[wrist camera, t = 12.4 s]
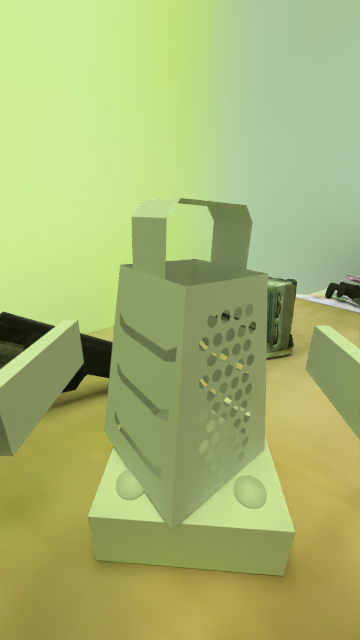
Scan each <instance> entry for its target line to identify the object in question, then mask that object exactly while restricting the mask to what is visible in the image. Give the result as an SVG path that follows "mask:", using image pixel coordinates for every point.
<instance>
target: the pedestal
mask: <svg viewBox="0 0 360 640" xmlns="http://www.w3.org/2000/svg"><path fill="white" fill-rule="evenodd" d="M224 401H225V402H226V403H228V404H229V405H230V404H231V402H232V400H230V399H229V398H227V397H226V398H225V400H224ZM233 408H235V409H236V410H238V408H237V406H234V407H233ZM244 409H245V408H242V407H240V410H241V411H243V410H244ZM150 410H151V411H152V412H153V414H154V415H155V416H156V417H157V418H159V419H161V420H164V421H166V422H168V416H169V409H158V408H157V407H154V408H152V409H150ZM211 411H212V413H213V414H216V412H215V411H213V410H211ZM208 413H209V411H208V409H207V408H205V409H203V410H202V411H201V412H200V414H199V420H200V421H204V420H205V419H206V418H207V416H208ZM245 415H247V416H250V412H247V413H246V414H245ZM224 422H225V419H224V418H222V417H221V416H220V417H219V420H218V423H219V424H220V425H221V424H223V423H224ZM214 427H215V420H211V421H210V422H209V423H208V424H207V427H206V430H207V432H211V431H212V430H213V429H214ZM233 427H234V426H233ZM234 429H237V428H235V427H234ZM230 430H231V426H230V425H227V426H226V427H225V429H224V430H223V436H227V435H228V434H229V433H230ZM120 431H121V433H122V434H123V435H124V437H125V438H126V439H127V441H128V442H129V443H130V445H131V446H132V447H133V449H134V450H135V451H136V453H137V454H138V455H139V457H140V458H141V459H142V461H143V462H144V463H145V465H146V466H147V467H148V469H149V470H150V471H151V473H152V474H154V475H155V476H157V477H158V478H159V479H161V472H162V468H160V467H156V466H153V465H152V464H151V462H150V461H149V460H148V459H147V457H146V456H145V455H144V453H143V452H142V451H141V450H140V448H139V447H138V446H137V445H136V443H135V442H134V441H133V439H132V438H131V437H130V436H129V434H128V433H127V432H126V430H125V429H124V428H123V427H122V426H121V428H120ZM238 436H239V438H242V437H243V436H244V434H243V433H242V432H241V431H240V432H239V435H238ZM219 437H220V434H219V433H218V432H217V433H215V434H214V435H213V437H212V439H211V444H216V443H217V442H218V440H219ZM235 440H236V435H235V434H234V435H232V436H231V437H230V439H229V445H230V446H231V445H233V444H234V442H235ZM248 440H249V438H248V437H245V438H244V439H243V441H242V446H243V447H244V446H246V444H247V443H248ZM225 446H226V443H225V442H222V443H221V444H220V445H219V447H218V450H217V451H218V453H219V454H220V453H222V452H223V451H224V449H225ZM239 446H240V445H239V443H237V444H236V445H235V446H234V447H233V450H232V453H233V454H235V453H236V452H237V451H238V450H239ZM207 447H208V441H207V440H205V441H203V442H202V443H201V445H200V446H199V452H200V453H202V452H204V451H205V450H206V449H207ZM214 455H215V451H214V450H211V451H210V452H209V453H208V454H207V456H206V461H207V462H209V461H211V460H212V459H213V457H214ZM229 455H230V451H226V452H225V453H224V455H223V457H222V461H223V462H225V461H226V460H227V459H228V458H229ZM243 457H244V452H243V451H242V452H241V453H240V454H239V456H238V458H237V461H238V462H240V461H241V460H242V459H243ZM218 464H219V459H215V460H214V461H213V463H212V464H211V470H212V471H213V470H215V469H216V468H217V466H218ZM234 464H235V459H232V460H231V461H230V462H229V464H228V469H229V470H230V469H231V468H232V467H233V466H234ZM224 471H225V467H222V468H220V470H219V471H218V473H217V478H220V477H221V476H222V475H223V474H224ZM207 472H208V468H207V467H205V468H203V469H202V470H201V472H200V474H199V479H203V478H204V477H205V476H206V475H207ZM213 481H214V476H213V475H212V476H210V477H209V478H208V480H207V482H206V487H209V486H211V484H212V483H213ZM88 521H89V526H90V532H91V538H92V543H93V549H94V555H95V560H101V561H113V562H124V563H136V564H148V565H160V566H172V567H183V568H195V569H207V570H219V571H230V572H242V573H254V574H266V575H278V576H284V572H285V568H286V564H287V561H288V557H289V553H290V549H291V546H292V542H293V538H294V534H295V530H294V527H293V524H292V521H291V518H290V514H289V511H288V508H287V505H286V502H285V498H284V495H283V492H282V489H281V486H280V483H279V479H278V476H277V473H276V470H275V467H274V463H273V460H272V457H271V454H270V451H269V447H268V444H267V441H266V438H265V450H264V451H263V452H262V453H260V454H259V455H258V456H257V457H256V458H255V459H253V460H252V461H251V462H250V463H249V464H248V465H246V466H245V467H244V468H243V469H242V470H241V471H239V472H238V473H237V474H236V475H235V476H234V477H232V478H231V479H230V480H229V481H228V482H227V483H225V484H224V485H223V486H222V487H221V488H219V489H218V490H217V491H216V492H215V493H214V494H212V495H211V496H210V497H209V498H208V499H207V500H205V501H204V502H203V503H202V504H201V505H200V506H198V507H197V508H196V509H195V510H194V511H193V512H191V513H190V514H189V515H188V516H187V517H186V518H184V519H183V520H182V521H181V522H180V523H178V524H177V525H176V526H175V527H174V528H173V529H170V527H169V526H168V524H167V523H166V521H165V520H164V518H163V517H162V515H161V514H160V512H159V511H158V510H157V508H156V507H155V505H154V504H153V502H152V501H151V499H150V498H149V496H148V495H147V493H146V492H145V490H144V489H143V488H142V486H141V485H140V483H139V482H138V480H137V479H136V477H135V476H134V474H133V473H132V471H131V470H130V468H129V467H128V466H127V464H126V463H125V461H124V460H123V458H122V457H121V455H120V454H119V452H118V451H117V449H116V448H115V446H114V447H113V450H112V453H111V455H110V458H109V461H108V463H107V466H106V469H105V471H104V474H103V477H102V480H101V482H100V485H99V488H98V490H97V493H96V496H95V498H94V501H93V504H92V506H91V509H90V512H89V515H88Z"/></svg>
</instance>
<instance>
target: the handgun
mask: <svg viewBox="0 0 360 640" xmlns="http://www.w3.org/2000/svg"><path fill="white" fill-rule="evenodd" d="M54 327H56V326H52V325H49V324H45V323H42V322H38V321H35V320H31V319H27V318H24V317H20V316H17V315H13V314H10V313H6V312H2V313H1V314H0V365H2V364H4V363H6V362H8V361H10V360H13V359H14V358H16V357H17V356H18V355H20V354H21V353H22V352H23V351H25V350H26V349H27V348H29V347H30V346H31V345H32V344H34V343H35V342H36V341H38V340H39V339H40V338H41V337H43V336H44V335H45V334H47V333H48V332H49V331H50V330H52V329H53V328H54ZM80 338H81V345H82V352H83V360H84V363H83V365H82V366H81V367H80V369H79V370H78V371H77V372H76V374H75V375H74V376H73V378H72V379H71V380H70V382H69V383H68V384H67V386H66V387H65V388H64V390H63V391H62V392H61V393H63V392H68V391H72V390H76V388H77V387H78V385H79V384H80V382H81V381H82V380H83V378H84V377H85V376H86V375H87V374H89V375H95V376H100V377H105V378H109V377H110V366H111V356H112V345H113V342H110V341H106V340H102V339H99V338H95V337H92V336H88V335H85V334H81V333H80Z"/></svg>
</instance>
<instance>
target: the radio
mask: <svg viewBox="0 0 360 640" xmlns="http://www.w3.org/2000/svg"><path fill="white" fill-rule="evenodd" d="M296 287H297V281H296V280H294V279H287V280H284V279H279V278H278V279H276V278H271V277H268V291H267V345H266V358H270V357H276V356H282V355H288V354H291V353H292V350H291V349H292V348H293V346H294V344H293V338H292V335H291V334H290V332H291V324H292V318H293V310H294V302H295V297H296ZM216 317H217V315H216ZM221 319H222V320H225V321H227V322H228V321H229V320H230V315H228V314H226V313H222V315H221ZM234 319H235V320H239V318H236V317H234ZM240 327H242V328H244V329H246V327H245V325H241V326H240ZM255 329H256V323H255V321H254V322H251V323H250V325H249V328H248V330H249V331H255Z"/></svg>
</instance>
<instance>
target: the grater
mask: <svg viewBox="0 0 360 640" xmlns="http://www.w3.org/2000/svg"><path fill="white" fill-rule="evenodd" d="M177 203H181V204H192V205H202V206H207V207H208V209H209V211H210V213H211V215H212V217H213V219H214V227H213V240H212V251H211V262H207V261H202V260H197V259H192V260H179V261H165V260H166V218H167V216H168V215H169V214H170V212H171V211H172V209H173V208H174V207H175V205H176V204H177ZM251 229H252V220H251V217H250V214H249V212H248V209H247V206H246V205H238V204H229V203H219V202H210V201H202V200H192V199H183V198H174V199H155V200H144V201H143V202H142V203H141V205H140V206H139V207H138V209H137V211H136V212H135V213H134V214H133V216H132V249H133V264H126V265H120V273H119V284H118V294H117V305H116V314H115V325H114V335H113V345H112V356H111V366H110V377H109V387H108V397H107V408H106V418H105V428H104V432H105V433H106V435H107V436H108V438H109V439H110V441H111V442H112V444H113V445H114V446H115V448H116V449H117V451H118V452H119V454H120V455H121V457H122V458H123V460H124V461H125V463H126V464H127V466H128V467H129V468H130V470H131V471H132V473H133V474H134V476H135V477H136V479H137V480H138V482H139V483H140V485H141V486H142V488H143V489H144V490H145V492H146V493H147V495H148V496H149V498H150V499H151V501H152V502H153V504H154V505H155V507H156V508H157V510H158V511H159V512H160V514H161V515H162V517H163V518H164V520H165V521H166V523H167V524H168V526H169V527H170V529H173V528H174V527H175V526H176V525H177V524H178V523H180V522H181V521H182V520H183V519H184V518H186V517H187V516H188V515H189V514H190V513H191V512H193V511H194V510H195V509H196V508H197V507H198V506H200V505H201V504H202V503H203V502H204V501H205V500H207V499H208V498H209V497H210V496H211V495H212V494H214V493H215V492H216V491H217V490H218V489H219V488H221V487H222V486H223V485H224V484H225V483H227V482H228V481H229V480H230V479H231V478H232V477H234V476H235V475H236V474H237V473H238V472H239V471H241V470H242V469H243V468H244V467H245V466H246V465H248V464H249V463H250V462H251V461H252V460H253V459H255V458H256V457H257V456H258V455H259V454H260V453H262V452H263V451H264V450H265V398H266V345H267V291H268V274H266V273H262V272H257V271H252V270H247V269H246V266H247V258H248V251H249V244H250V236H251ZM212 313H214V314H216V315H217V317H215V316H212V315H211V314H212ZM222 313H226V314H228V315H230V320H229V321H228V322H227V321H225V320H222V319H221V315H222ZM234 317H236V318H239V320H235V319H234ZM254 321H255V323H256V329H255V331H249V330H248V328H249V325H250V323H251V322H254ZM241 325H245V327H246V329H244V328H242V327H240V326H241ZM201 339H202V340H203V342H204V343H205V345H207V346H209V347H208V348H207V350H204V349H203V347H202V346H201V345H200V344H199V342H200V341H201ZM211 353H215V354H216V355H217V357H216V356H214V355H212V354H211ZM220 353H222V354H224V355H226V356H228V358H227V359H226V360H225V361H223V360H221V359H220ZM237 362H239V363H241V364H243V365H244V366H243V368H242V369H241V370H239V369H237V368H236V364H237ZM230 364H232V365H233V366H232V365H230ZM246 371H248V372H249V374H247V373H245V372H246ZM201 377H202V378H203V380H204V381H205V382H206V383H207V384H208V385H207V386H206V387H204V386H203V384H202V383H201V382H200V379H201ZM213 388H214V389H215V390H216V395H215V394H213V393H212V392H211V391H209V390H211V389H213ZM219 392H220V393H221V394H223V395H221V394H219ZM226 397H227V398H229V399H230V400H232V402H231V404H230V405H229V404H228V403H226V402H225V401H224V400H225V398H226ZM234 406H237V408H238V410H236V409H235V408H233V407H234ZM154 407H157V408H158V409H169V416H168V422H166V421H164V420H161V419H159V418H157V417H156V416H155V415H154V414H153V412H152V411H151V410H150V409H152V408H154ZM240 407H242V408H245V409H244V410H243V411H241V410H240ZM205 408H207V409H208V411H209V413H208V416H207V418H206V419H205V420H204V421H200V420H199V414H200V412H201V411H202V410H203V409H205ZM211 410H213V411H215V412H216V414H213V413H212V411H211ZM247 412H250V416H247V415H245V414H246V413H247ZM220 416H221V417H222V418H224V419H225V422H224V423H223V424H221V425H220V424H219V423H218V420H219V417H220ZM211 420H215V427H214V429H213V430H212V431H211V432H207V430H206V427H207V424H208V423H209V422H210V421H211ZM119 424H121V425H122V427H123V428H124V429H125V430H126V432H127V433H128V434H129V436H130V437H131V438H132V439H133V441H134V442H135V443H136V445H137V446H138V447H139V448H140V450H141V451H142V452H143V453H144V455H145V456H146V457H147V459H148V460H149V461H150V462H151V464H152V465H153V466H156V467H160V468H162V472H161V479H159V478H158V477H157V476H155V475H154V474H152V473H151V471H150V470H149V469H148V467H147V466H146V465H145V463H144V462H143V461H142V459H141V458H140V457H139V455H138V454H137V453H136V451H135V450H134V449H133V447H132V446H131V445H130V443H129V442H128V441H127V439H126V438H125V437H124V435H123V434H122V433H121V431H120V430H119V428H118V426H117V425H119ZM227 425H230V426H231V430H230V433H229V434H228V435H227V436H223V430H224V429H225V427H226V426H227ZM233 426H234V427H235V428H237V429H234V427H233ZM240 431H241V432H242V433H243V434H244V436H243V437H242V438H239V436H238V435H239V432H240ZM217 432H218V433H219V434H220V437H219V440H218V442H217V443H216V444H211V439H212V437H213V435H214V434H215V433H217ZM234 434H235V435H236V440H235V442H234V444H233V445H231V446H230V445H229V439H230V437H231V436H232V435H234ZM245 437H248V438H249V440H248V443H247V444H246V446H244V447H243V446H242V441H243V439H244V438H245ZM205 440H207V441H208V447H207V449H206V450H205V451H204V452H202V453H200V452H199V446H200V445H201V443H202V442H203V441H205ZM222 442H225V443H226V446H225V449H224V451H223V452H222V453H220V454H219V453H218V451H217V450H218V447H219V445H220V444H221V443H222ZM237 443H239V445H240V446H239V450H238V451H237V452H236V453H235V454H233V453H232V450H233V447H234V446H235V445H236V444H237ZM211 450H214V451H215V455H214V457H213V459H212V460H211V461H209V462H207V461H206V456H207V454H208V453H209V452H210V451H211ZM226 451H230V455H229V458H228V459H227V460H226V461H225V462H223V461H222V457H223V455H224V453H225V452H226ZM242 451H243V452H244V457H243V459H242V460H241V461H240V462H238V461H237V458H238V456H239V454H240V453H241V452H242ZM215 459H219V464H218V466H217V468H216V469H215V470H213V471H212V470H211V464H212V463H213V461H214V460H215ZM232 459H235V464H234V466H233V467H232V468H231V469H230V470H229V469H228V464H229V462H230V461H231V460H232ZM205 467H207V468H208V472H207V475H206V476H205V477H204V478H203V479H199V474H200V472H201V470H202V469H203V468H205ZM222 467H225V471H224V474H223V475H222V476H221V477H220V478H217V473H218V471H219V470H220V468H222ZM212 475H213V476H214V481H213V483H212V484H211V486H209V487H206V482H207V480H208V478H209V477H210V476H212Z"/></svg>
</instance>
